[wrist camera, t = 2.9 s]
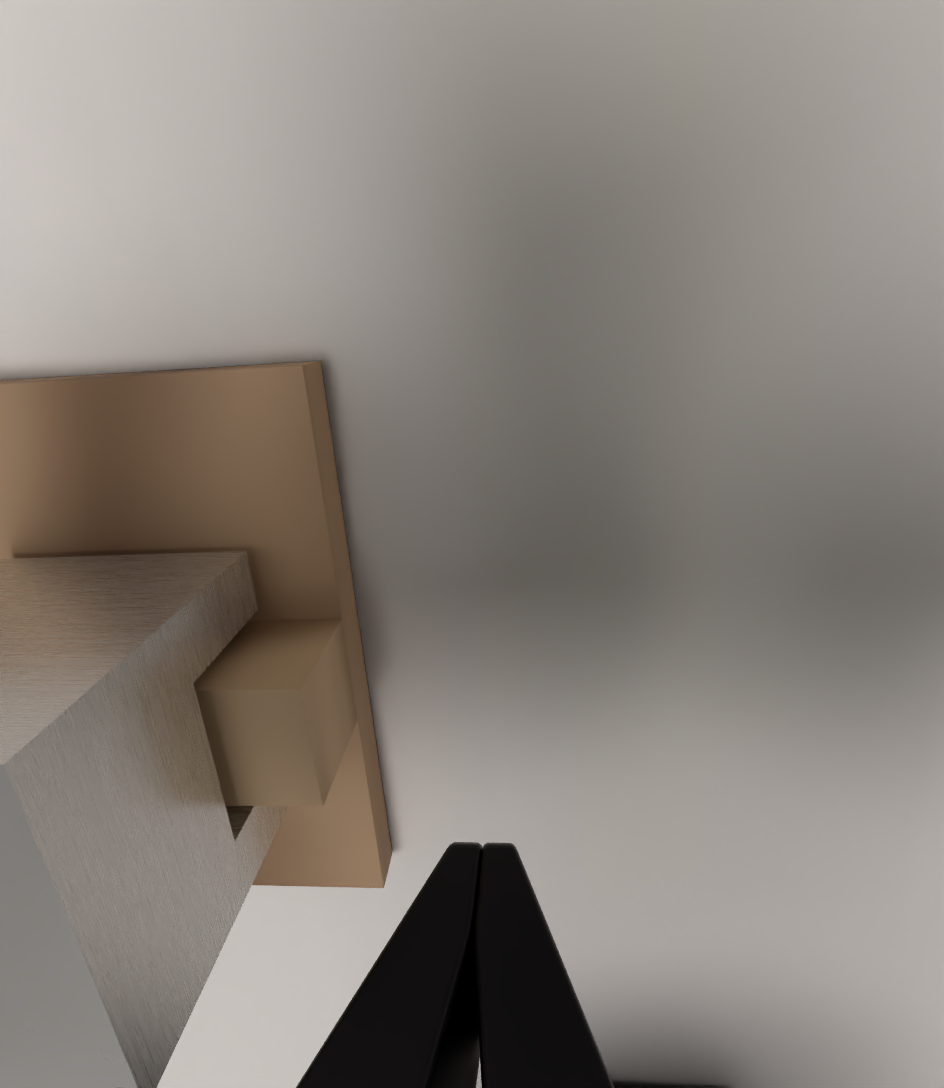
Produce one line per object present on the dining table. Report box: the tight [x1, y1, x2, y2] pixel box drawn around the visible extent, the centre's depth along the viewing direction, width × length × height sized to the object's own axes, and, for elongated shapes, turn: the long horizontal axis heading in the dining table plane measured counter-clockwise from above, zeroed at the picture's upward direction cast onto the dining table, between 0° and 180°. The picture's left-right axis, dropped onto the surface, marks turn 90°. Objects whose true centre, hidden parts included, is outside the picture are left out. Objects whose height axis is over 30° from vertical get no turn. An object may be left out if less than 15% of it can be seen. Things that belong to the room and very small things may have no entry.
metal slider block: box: [0, 551, 289, 1088], centre depth 10 cm, size 5×6×6 cm
